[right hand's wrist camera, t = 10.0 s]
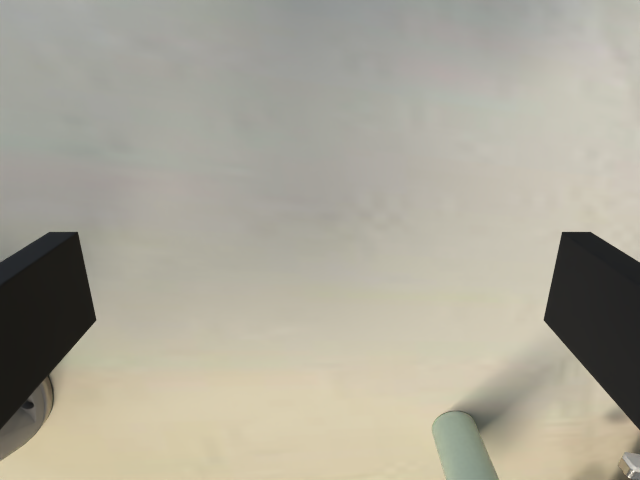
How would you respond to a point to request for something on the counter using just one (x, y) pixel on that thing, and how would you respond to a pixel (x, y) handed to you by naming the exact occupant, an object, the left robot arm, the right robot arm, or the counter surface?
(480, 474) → the jar
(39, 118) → the counter surface
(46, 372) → the right robot arm
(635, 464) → the left robot arm
